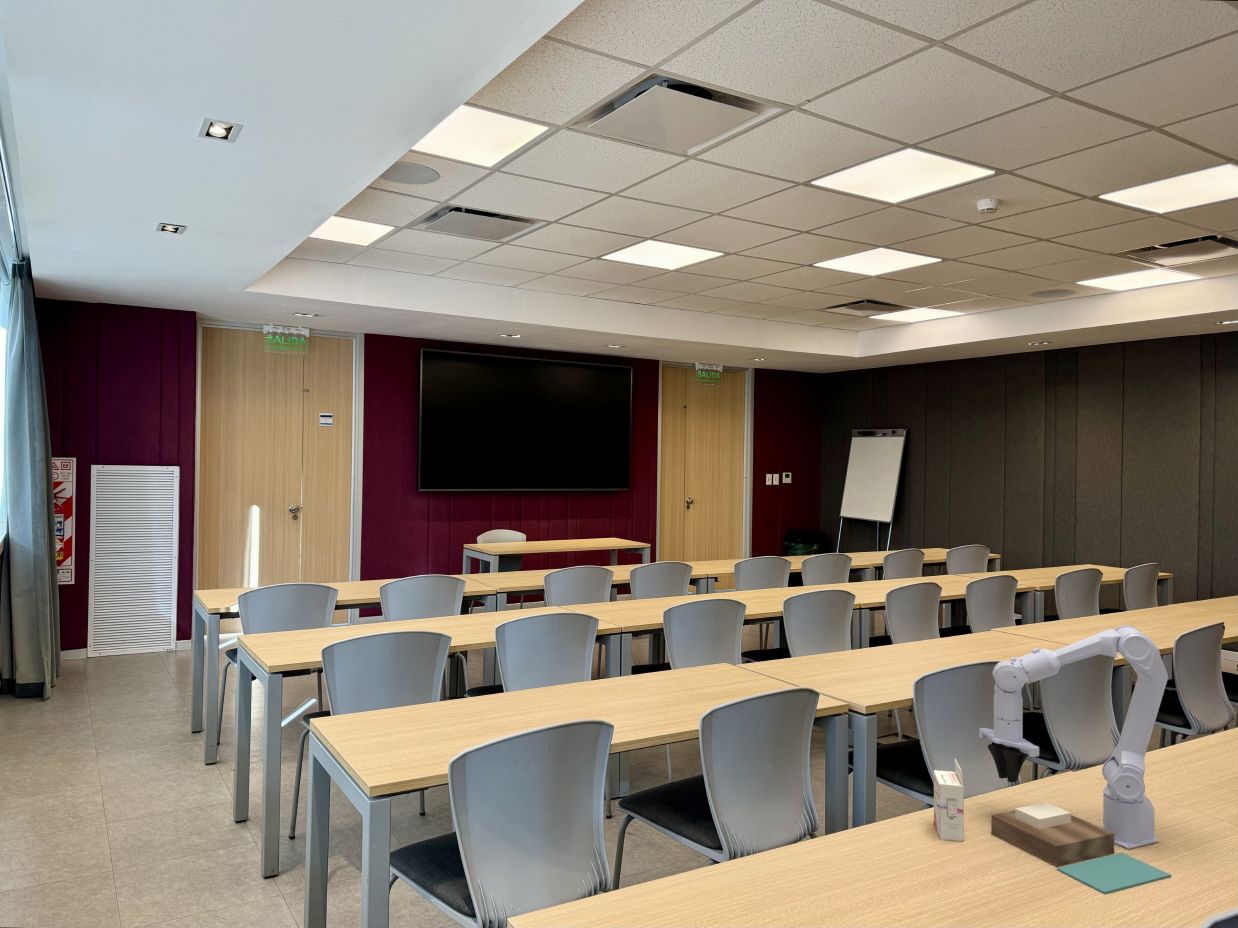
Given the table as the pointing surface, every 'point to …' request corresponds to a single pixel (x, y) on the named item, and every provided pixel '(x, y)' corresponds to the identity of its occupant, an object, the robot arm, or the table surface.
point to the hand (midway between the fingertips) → (1008, 779)
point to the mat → (1113, 873)
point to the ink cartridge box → (949, 804)
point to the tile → (1043, 815)
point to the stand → (1055, 839)
